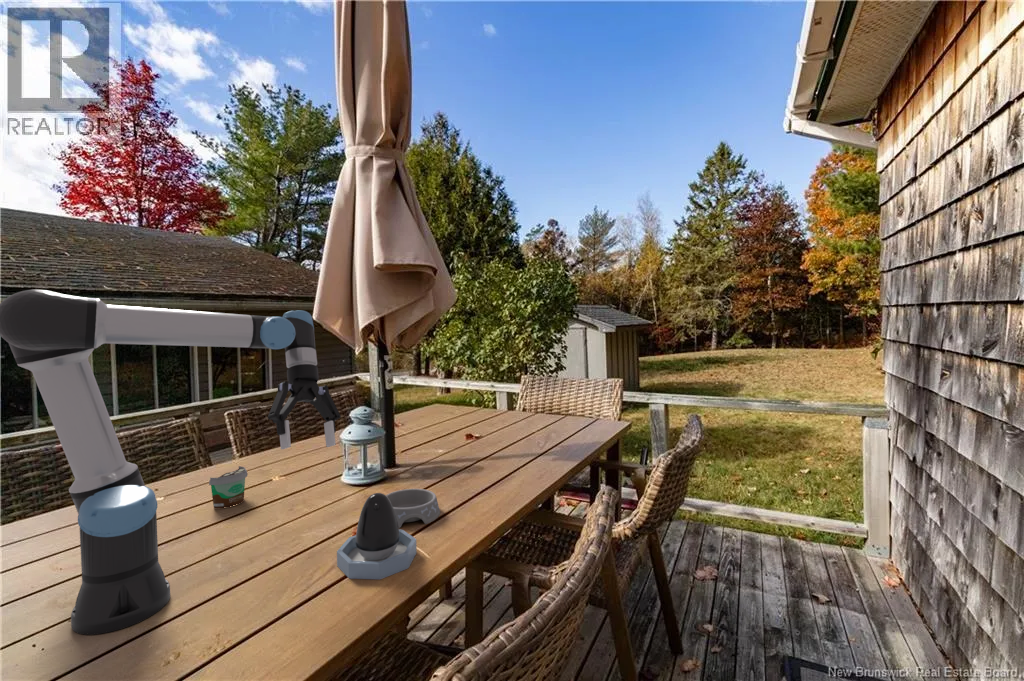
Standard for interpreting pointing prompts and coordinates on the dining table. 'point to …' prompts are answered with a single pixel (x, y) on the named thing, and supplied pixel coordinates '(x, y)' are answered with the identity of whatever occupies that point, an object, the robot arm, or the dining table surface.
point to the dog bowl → (414, 505)
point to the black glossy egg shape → (377, 528)
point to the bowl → (367, 569)
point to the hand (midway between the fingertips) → (309, 447)
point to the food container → (228, 488)
